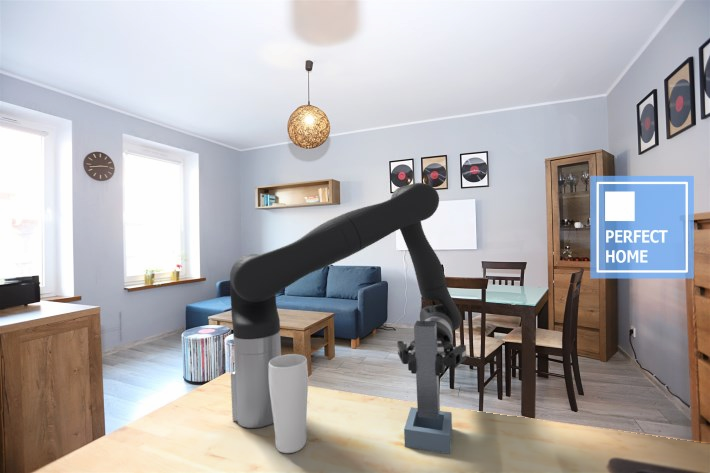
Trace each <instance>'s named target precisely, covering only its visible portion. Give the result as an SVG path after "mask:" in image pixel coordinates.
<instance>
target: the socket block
mask: <svg viewBox="0 0 710 473" xmlns="http://www.w3.org/2000/svg"><path fill="white" fill-rule="evenodd" d="M452 422H453V416H452V412H451V411H443V410H440V412H439V419H432V418H424V417H418V407H413V406H412V407H411V406H410V409H409V412H408V416H407V419H406V423H405V424H404V428H403V430H404V431H403V433H404V434H403V436H404V438H403V439H404V447H406V448H411V449H417V450H424V451H431V452H437V453H443V454H447V455H449V454H451V446H452V436H453V435H452V434H453V423H452Z"/></svg>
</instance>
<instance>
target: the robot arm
mask: <svg viewBox="0 0 710 473" xmlns="http://www.w3.org/2000/svg"><path fill="white" fill-rule="evenodd" d="M439 204H440V196H439V193H438V191H437V189H436V188H435V187H434V186H432V185H430V184H427V183H424V182H423V183H422V182H415V183H411V184H407V185H404V186H403V185H402V186H400V187H397V188H396V189H395V190H394V191H393V193H392V195H391V198H389V199H388V200H385V201H383V202H380V203H375V204H372V205H371V204H370V205H367V206H363V207H359V208H357V209H354V210H351V211H347V212H345V213H342V214H340V215H338V216H335V217H333V218H332V219H329V220H327V221H325V222H323V223H321V224H320V225H318V226H317V227H314V228H313V229H311V230H310V231H308V232H307V233H306V234H305V235H303V236H302V237H300V238H298V239H297V240H295V241H294V242H291V243H289V244H287V245H284V246H281V247H279V248H276V249H273V250H270V251H267V252H263V253H259V254H255V253H251V254H246V255H244V256H241V257H240V258H238V259H237V260H236V261H235V262H234V264H233V265H232V267H231V270H230V273H229V286H230V288H229V289H230V290H229V292H230V305H231V306H230V309H231V322H232V330H233V331H232V334H233V335H232V336H233V358H234V360H233V361H234V371H232V372H231V373H230V387H231V388H230V389H231V391H230V393H231V412H232V416H231V417H232V421H235V422H237V424H238V425H239V426H241V427H244V428H248V429H257V428H263V427H266V426H267V427H268V426H270V425H272V424H274V422H273V414H272V406H271V399H270V391H269V376H268V369H269V361H270V360H271V359H273V358H275V357H277V356H281V355H282V349H281V348H282V346H281V342H282V341H281V322H280V321H281V319H280V316H279V312H278V306H277V294H279V292H281V291H283V290H285V289H286V288H288V287H289V286H291V285H292V284H294V283H296V282H297V281H299V280H300V279H302V278H304V277H305V276H308V275H310V274H312V273H314V272H316V271H319V270H321V269H324V268H326V267H329V266H331V265H333V264H335V263H338V262H340V261H342V260H344V259H347V258H348V257H350V256H353V255H354V254H357V253H358V252H360V251H363V250H364V249H366V248H367V247H369V246H372V245H373V244H375V243H377V242H379V241H380V240H382V239H384V238H385V237H387V236H389V235H390V234H392V233H394V232H396V231H399V230H400V233H401V235H402V237H403V240H404V243H405V245H406V248H407V250H408V253H409V257H410V259H411V262H412V266H413V268H414V272H415V276H416V281H417V285H418V290H419V293H420V296H421V298H423V299H425V300H428V301H435V302H439V303H441V304H435V305H428V306H424V307H423V308H422V309H421V310H420V313H419V321H436V328H437V352H438V356H437V358H436V361H435V375H436V376H439V377H440V376H441V374H444V373H445V372H446V371H445V370H446V368H447V366H449V368H450V369H456V368H457V367H458V366H460V365H461V364H462V363H463V362H465V361H466V360H467V345H465V344H459V345H458V346H457V345H455V346H454V345H453V341H454V338H453V337H454V335H453V331H457V330H458V329H459V328H460V327H461V324H462V314H461V312H460V310H459V308H458V306H457V305H456V303H455V301H454V300H453V298H452V296H451V293H450V292H449V289H448V287H447V286H448V285H447V282H446V277H445V273H444V270H443V266H442V263H441V261H440V259H439V257H438V255H437V253H436V252H435V250H434V249H433V247H432V245H431V243H430V242H429V240H428V238H427V236H426V234H425V232H424V229H423V225H422V222H423V221H425V220H427V219H430V218H431V217H432V216H433V215H434V214H435V213H436V212H437V210H438V207H439ZM396 343H397V355H398V357H399V359H400V361H401V363H402V364H403V365H407V369H408V371H410V373H411V374H414V375H416V359H415V338H414V340H412V341H410V343H409V344H408V343H406V342H404V341H402V340H399V341H398V340H397V342H396ZM409 351H410V352H409Z"/></svg>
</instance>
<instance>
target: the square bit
mask: <svg viewBox="0 0 710 473" xmlns="http://www.w3.org/2000/svg"><path fill="white" fill-rule="evenodd" d="M413 334H414V339H415V359H416V374H415V378H416V379H415V380H416V381H415V382H416V383H415V384H416V399H417V400H416V401H417V406H416V407H417V408H418V417H424V418H432V419H439V412H440V411H441V405H440V404H441V402H440V401H441V400H440V379H439V377H440V376H436V375H435V361H436V358H437V356H438V352H437V328H436V321H420V320H416V321H415V323H414V325H413Z"/></svg>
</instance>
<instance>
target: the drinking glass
mask: <svg viewBox="0 0 710 473" xmlns="http://www.w3.org/2000/svg"><path fill="white" fill-rule="evenodd" d="M308 370H309V369H308V360H307V357H306V356H305V355H303V354H299V353H289V354H288V353H287V354H281V356H277V357H275V358H273V359H271V360H270V361H269V369H268V376H269V391H270V399H271V406H272V414H273V422H274V423H273V428H274V429H273V430H274V438H275V439H274V442H275V447H276V450H277V451H279V452H280V453H282V454H283V453H284V454H292V453H296V452H298V451H301V450H302V449H303V448H304V447H305V445H306V443H307V417H308V416H307V415H308V409H307V408H308V392H309V391H308V390H309V371H308Z"/></svg>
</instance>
